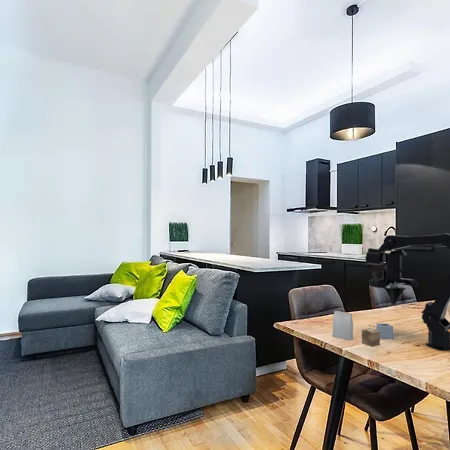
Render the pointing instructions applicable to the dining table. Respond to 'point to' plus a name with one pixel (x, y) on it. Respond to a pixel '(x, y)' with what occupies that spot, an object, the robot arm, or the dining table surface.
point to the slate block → (385, 330)
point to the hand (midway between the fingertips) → (393, 304)
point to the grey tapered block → (342, 325)
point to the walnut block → (371, 337)
